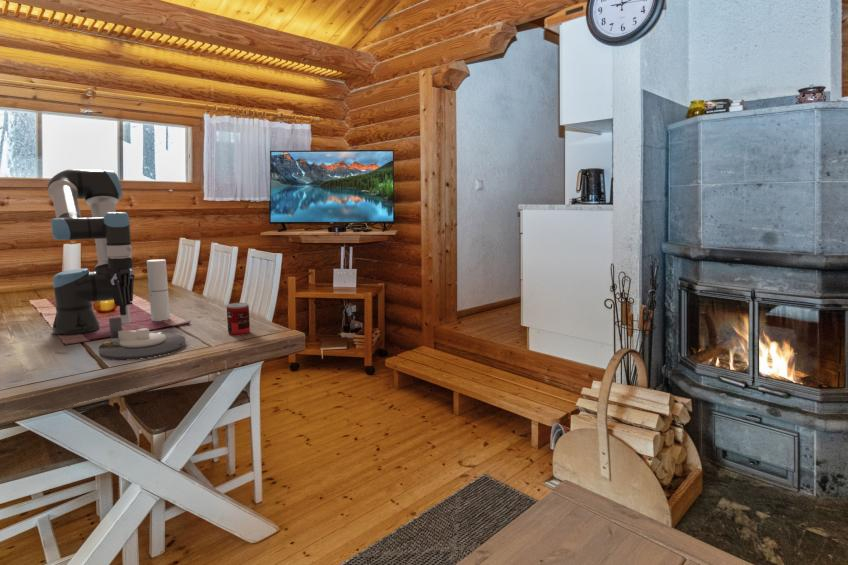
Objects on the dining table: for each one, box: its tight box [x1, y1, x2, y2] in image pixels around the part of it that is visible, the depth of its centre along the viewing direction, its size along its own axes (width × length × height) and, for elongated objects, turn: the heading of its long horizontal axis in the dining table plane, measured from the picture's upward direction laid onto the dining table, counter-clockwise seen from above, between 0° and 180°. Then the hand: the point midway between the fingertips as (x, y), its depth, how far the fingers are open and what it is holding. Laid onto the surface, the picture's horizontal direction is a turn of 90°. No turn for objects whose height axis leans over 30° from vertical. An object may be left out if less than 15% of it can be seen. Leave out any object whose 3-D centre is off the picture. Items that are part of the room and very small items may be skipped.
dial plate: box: [98, 331, 187, 361], centre depth 181 cm, size 26×26×2 cm
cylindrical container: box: [146, 258, 171, 322], centre depth 222 cm, size 7×7×25 cm
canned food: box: [226, 302, 251, 336], centre depth 201 cm, size 8×8×11 cm
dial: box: [108, 316, 166, 348], centre depth 180 cm, size 19×14×8 cm
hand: (125, 323), depth 188 cm, fingers closed
